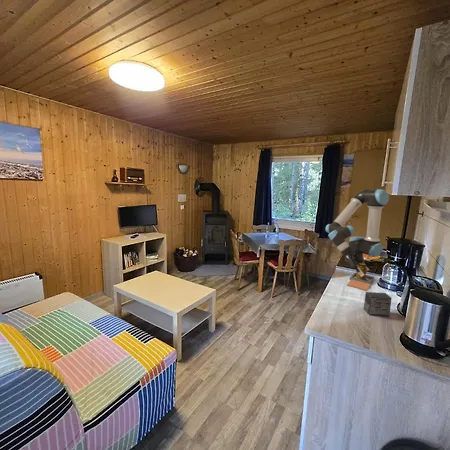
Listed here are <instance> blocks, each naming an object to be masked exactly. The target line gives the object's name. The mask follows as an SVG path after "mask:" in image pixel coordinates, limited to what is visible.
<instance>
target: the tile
mask: <svg viewBox="0 0 450 450" xmlns="http://www.w3.org/2000/svg"><path fill="white" fill-rule="evenodd" d="M346 286H347V287H350V288H353V289H356V290H361V291H365V292H368V290H369V289H370V288H371V286H372V283H371V284H368V283H364V282H360V281H357V280H353V279H352V280H349V281H348V283H346Z"/></svg>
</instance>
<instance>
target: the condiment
mask: <svg viewBox="0 0 450 450" xmlns="http://www.w3.org/2000/svg"><path fill="white" fill-rule="evenodd" d="M366 266H368V265H367V264H366V263H365V262H364V263H358V265H357V267H359V268H360V270H361V271H362V272H363V273H364V274H365V275H364V276H362V277H361V276H360V275H359V274H358V273H357V272H356V273H357V274H356V276H355V278H357V279H361V280H365V281H370V279H367V278H366V275H367V272H368V271H367V268H368V267H367V268H366Z"/></svg>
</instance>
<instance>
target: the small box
mask: <svg viewBox="0 0 450 450" xmlns="http://www.w3.org/2000/svg"><path fill="white" fill-rule="evenodd" d="M392 300H393V299H392V297H391V296H390V295H389V294H388V293H386V292H376V291H375V292H373V291H372V292H371V291H365V296H364V303H363V305H364V306H363V310H364V311H365V313H367V315H368V314H369V316H380V317H390V314H391V306H392Z"/></svg>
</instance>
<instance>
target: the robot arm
mask: <svg viewBox="0 0 450 450" xmlns="http://www.w3.org/2000/svg"><path fill="white" fill-rule="evenodd" d="M385 191H386V189H380V188H366V189H362V190H359V192H357V193H356V194H354V196H353V197H352V198H351V199H350V201H349V203H348V204H347V205H346V207H344V209H343V210H342V211H341V212H340V214H339V215H337V217H336V218H335V219H334V221H332V223H328V224H327V225H326V226H325V232H326V233H328V236H327V237H328V238H329V239H330V241H331V242H332V244H334V246H335V247H336V248H337V250H339V251H340V253H341V254H342V255H343V256H345V257H344V259H345V260H344V262H346V263H347V262H348V264H349V265H350V267H351V268H352V269H353V270H355V272H356V273H358V274H359V275H360V276H361V277H362V276H364V275H365V274H364V273H363V272H362V271H361V270H360V268H359V267H358V265H356V264H358V263H364V264H365V259H364V255H368V256H369V257H378V256H379V255H381V253H383V251H384V246H383V244H382V243H381V239H380V238H379V236H380V226H381V217H382V209H384V208H385V206H386V205H388V202H389V201H390V195H389V193H388V192H387V193H388V194H387V193H386V192H385ZM364 204H367V208H368V216H367V225H366V235H365V237H364V236H352V235H354V234H355V229H354V227H353V226H352V225H345V224H346V223H347V221H348V220H349V219H350V218H351V216H353V214H354V213H355V212H356V211H357V210H358V209H359V207H362V206H363V205H364ZM344 225H345V226H344ZM347 238H349V241H348V242H347V241H346V239H347ZM367 266H368V265H367ZM367 266H366V268H367V271H366V272H368V271H370V269H369V268H368V267H367Z"/></svg>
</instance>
